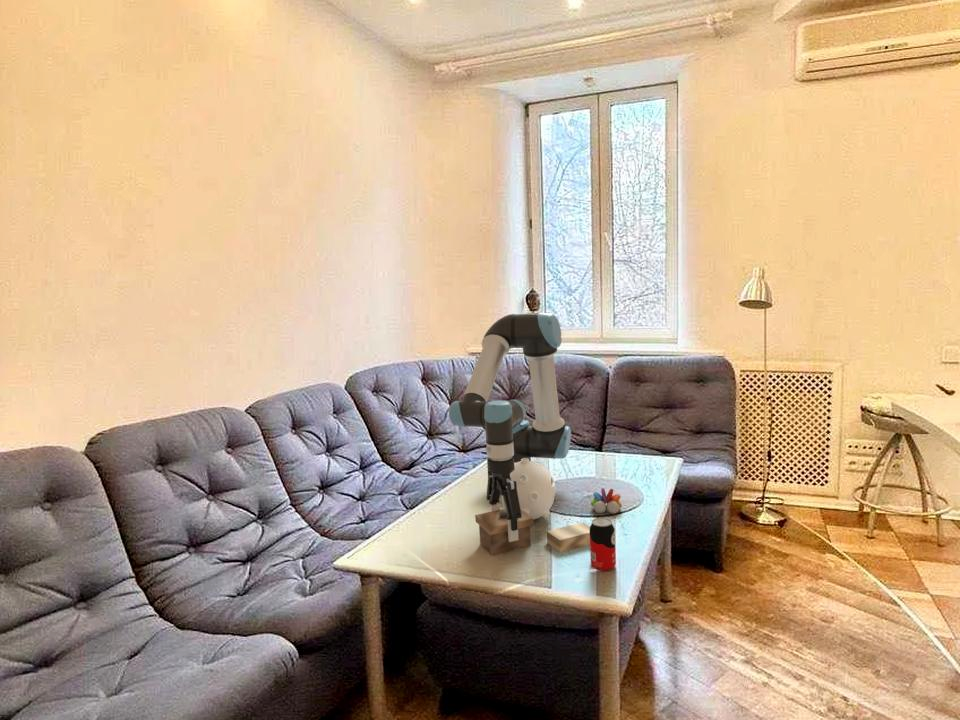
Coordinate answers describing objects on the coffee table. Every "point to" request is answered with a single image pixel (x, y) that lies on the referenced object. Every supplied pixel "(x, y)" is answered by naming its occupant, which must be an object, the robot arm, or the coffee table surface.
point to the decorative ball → (533, 488)
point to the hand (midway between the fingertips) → (504, 533)
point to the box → (504, 541)
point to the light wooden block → (569, 537)
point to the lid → (500, 521)
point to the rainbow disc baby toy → (610, 499)
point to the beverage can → (602, 544)
